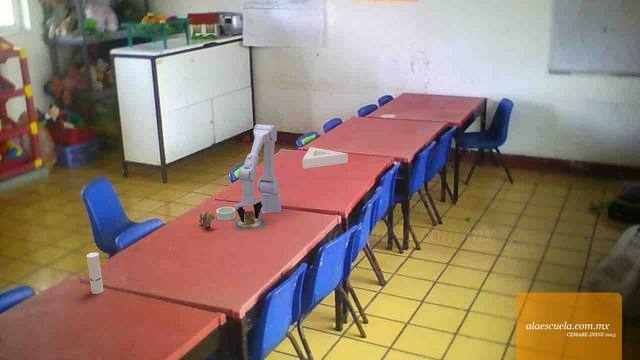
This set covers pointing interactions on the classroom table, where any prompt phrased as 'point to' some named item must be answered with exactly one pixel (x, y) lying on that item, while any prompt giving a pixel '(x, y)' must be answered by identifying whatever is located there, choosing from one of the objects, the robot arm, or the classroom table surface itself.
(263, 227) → the mat
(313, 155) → the triangle block
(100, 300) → the classroom table surface
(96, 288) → the tube
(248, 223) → the lid
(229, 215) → the bowl
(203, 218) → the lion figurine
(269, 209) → the robot arm
